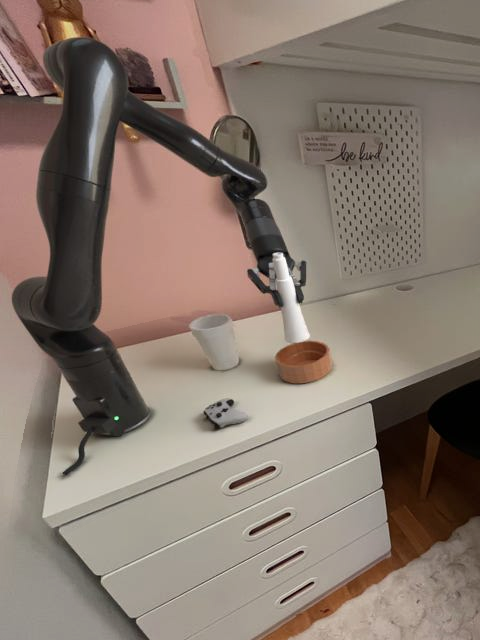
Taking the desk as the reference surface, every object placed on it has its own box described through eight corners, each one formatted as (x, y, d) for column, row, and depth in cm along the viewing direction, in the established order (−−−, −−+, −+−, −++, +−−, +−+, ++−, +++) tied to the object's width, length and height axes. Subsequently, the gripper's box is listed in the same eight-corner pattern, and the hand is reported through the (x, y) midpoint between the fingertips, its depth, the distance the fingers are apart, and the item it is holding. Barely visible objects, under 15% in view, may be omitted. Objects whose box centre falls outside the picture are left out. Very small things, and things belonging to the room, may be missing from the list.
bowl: (319, 386, 102) (315, 368, 99) (270, 382, 103) (264, 364, 100) (339, 359, 113) (336, 342, 110) (295, 356, 114) (290, 339, 111)
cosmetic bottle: (282, 335, 104) (261, 251, 92) (307, 330, 107) (289, 248, 95) (287, 345, 99) (265, 259, 88) (312, 339, 102) (294, 255, 91)
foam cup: (249, 365, 109) (235, 323, 103) (211, 377, 104) (193, 333, 97) (239, 351, 115) (225, 310, 108) (202, 362, 110) (185, 320, 103)
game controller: (251, 416, 90) (225, 410, 85) (238, 437, 90) (211, 432, 85) (234, 398, 96) (208, 391, 91) (222, 417, 95) (195, 412, 90)
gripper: (233, 237, 91) (258, 304, 89) (297, 229, 99) (322, 291, 97) (235, 253, 98) (259, 317, 96) (296, 245, 105) (319, 304, 103)
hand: (291, 303), depth 96 cm, fingers closed on cosmetic bottle, 4 cm apart
